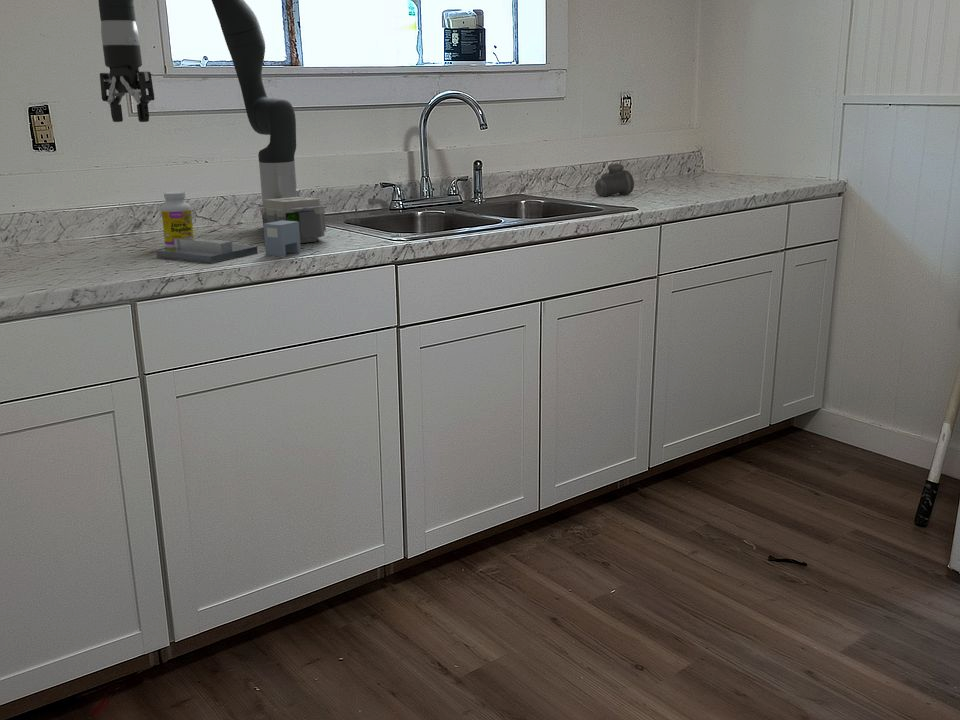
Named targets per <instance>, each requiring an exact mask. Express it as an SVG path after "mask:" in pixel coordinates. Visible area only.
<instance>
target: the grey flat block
mask: <svg viewBox="0 0 960 720" xmlns="http://www.w3.org/2000/svg"><path fill="white" fill-rule="evenodd" d="M174 240H175V247H172V248H167V247H166V248H163V249H158V250H156V251H155V252H156V258H161V259H169V260H178V261H185V262H187V261H188V262H195V263H202V264H215V263H219V262H223V261H229V260H232V259H233V260H234V259H238V258H241V257H242V258H243V257H247V256H251V255H256V254H258V246H256V245H246V244H245V245H244V244H235V243H233V241H230V240H229V241H228V240H227V241H225V240H216V239H204V238H195V237H194V238H188V237H183V238H178V239H174Z"/></svg>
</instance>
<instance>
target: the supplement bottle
mask: <svg viewBox="0 0 960 720" xmlns="http://www.w3.org/2000/svg"><path fill="white" fill-rule="evenodd" d="M163 196H164V197H163V198H164V200H165V203H164V204H163V203H162V205H161V208H160V209H161V217H162V218H161V219H162V227H163V237H164V239H163V240H164V245H165V246H164V247H166V249H167V248H172V247H175V240H174V239H178V238H183V237H188V238H195V236H194V235H195V234H194V227H193V217H192V207H191V204H189V203H188V202H186V200H185V199H186V192H185V191H167V192H163Z"/></svg>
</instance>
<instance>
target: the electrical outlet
mask: <svg viewBox="0 0 960 720" xmlns="http://www.w3.org/2000/svg"><path fill="white" fill-rule="evenodd" d="M259 207H261V208H260V214H261V218H262V229H263V230H264V226H263V224H265V223H270V222H276V221H281V220H284V221H297V222H299V233H300V244H304V243H313V242H317V240H318V239H317V238H321V237H322V238H323V237H325V232H326V230H327V229H326V226H327V225H326V216H325V213H326V210H325V209H326V208H328V206H326V205H321V202H320V198H314V197H313V198H312V197H303V196H302V197H301V196H300V197H291V198H278V199H265V200H264V205H263V204H259ZM263 207H265V208H263Z"/></svg>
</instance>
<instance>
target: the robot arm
mask: <svg viewBox="0 0 960 720" xmlns="http://www.w3.org/2000/svg"><path fill="white" fill-rule="evenodd" d="M97 2H98V10H99V16H100V34H101V44H102V50H103V51H102V52H103V58H104V66H105V67H107V68H108V69H109V72H100V73H99V81H100V93H101V100H102V101H103V102H107V103H108V105H109V107H110V115H111V116H110V117H111V118H112V119H111V120H112V122H114V123H120V122H121V123H122V122H123V121H124V118H123V109H122V104H121V101H122V99H123V97H124V96H125V95H126V94H129V95H130V96H131V97H133V98H134V100H135V102H136V109H137V110H136V111H137V119H138V121H139V123H146V122H149V121H150V113H149V103H150V102H151V101H154V100H155V93H154V92H155V91H154V86H153V79H152V73H151V72H150V71H140V67H142V66H143V61H142V53H141V44H140V43H141V42H140V35H139V29H138V26H137V20H136V11H135V10H136V9H135V5H134V4H135V3H134V0H98V1H97ZM211 2H212V6H213V8H214V10H215V13H216V16H217V20H218V21H219V22H218V23H219V25H220V28H221V32H222V35H223V37H224V41H225V44H226V47H227V50H228V51H229V54H230V57H231V61H232V62H233V63H232V64H233V67H234V69H235V73H236V76H237V79H238V83H239V87H240V90H241V95H242V100H243V103H244V107H245V112H246V116H247V120H248V122H249V125H250V126H251V128H252V129H253V131H254V132H255V133H257V134H259V135H265V136H269V143H268V145H267V146H265V147H264V148H262V149H260V150H259V151H258V155H257V156H258V167H259V178H260V179H259V180H260V189H261V201H262V202H261V203H262V204H261V205H264V200H265V199H278V198H291V197H301V196H300V195H301V193H300V190H299V189H297V176H296V165H295V154H296V150H297V122H296V121H297V119H296V114H295V110H294V107H293V105H292V103H291V102H290V101H289V100H288V99H286V98H282V97H278V98H277V97H270V98H269V97H268V96H267V91H266V89H265V86H264V83H263V78H262V77H263V76H262V75H263V74H262V73H263V65H264V60H265V55H266V54H265V53H266V43H265V38H264V34H263V31H262V29H261V25H260V23H259V19H258V17H257V15H256V13H255V12H254V11H253V9H252V7H250V6H249V4H248V3H247V1H246V0H211ZM107 91H108V93H107ZM262 208H265V207H262Z"/></svg>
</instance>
